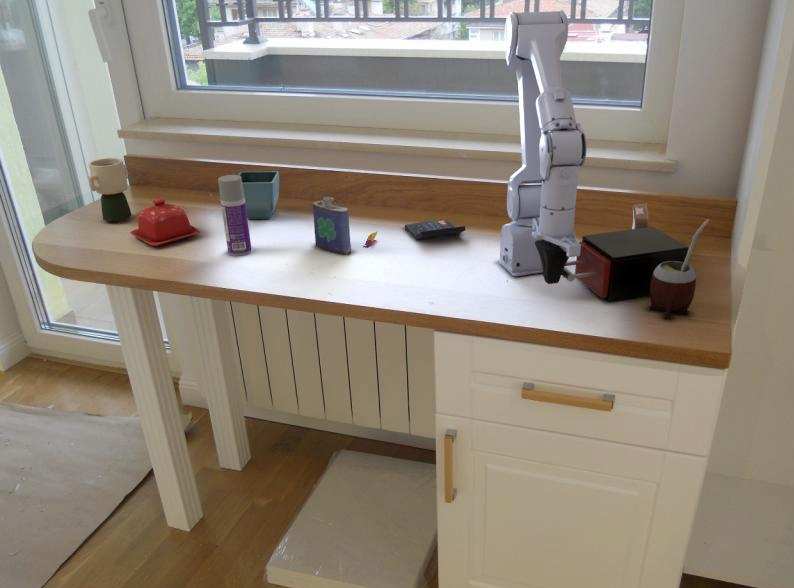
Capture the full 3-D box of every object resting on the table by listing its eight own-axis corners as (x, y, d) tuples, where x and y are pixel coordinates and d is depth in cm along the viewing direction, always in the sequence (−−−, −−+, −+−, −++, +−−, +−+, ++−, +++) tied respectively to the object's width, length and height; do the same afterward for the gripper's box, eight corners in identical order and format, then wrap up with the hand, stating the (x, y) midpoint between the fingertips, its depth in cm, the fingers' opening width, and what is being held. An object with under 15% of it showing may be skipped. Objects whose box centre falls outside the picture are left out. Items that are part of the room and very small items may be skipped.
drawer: (570, 302, 136) (574, 266, 132) (545, 280, 144) (548, 245, 141) (669, 287, 140) (675, 251, 137) (639, 267, 149) (644, 233, 145)
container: (256, 249, 163) (246, 176, 155) (242, 257, 159) (232, 182, 152) (237, 246, 165) (227, 173, 157) (223, 254, 161) (212, 180, 153)
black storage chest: (608, 302, 137) (613, 257, 133) (578, 278, 146) (582, 235, 142) (681, 291, 141) (688, 247, 136) (647, 268, 150) (653, 226, 146)
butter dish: (152, 251, 163) (144, 210, 159) (128, 237, 171) (120, 198, 166) (203, 237, 170) (197, 198, 165) (178, 224, 177) (171, 186, 173)
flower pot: (277, 222, 177) (272, 182, 173) (237, 222, 177) (232, 182, 173) (283, 209, 185) (279, 170, 180) (245, 210, 185) (240, 171, 180)
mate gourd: (644, 317, 132) (656, 230, 124) (650, 298, 138) (661, 214, 131) (691, 323, 130) (706, 235, 122) (695, 304, 136) (710, 218, 128)
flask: (354, 251, 160) (350, 199, 155) (343, 256, 159) (339, 203, 153) (321, 242, 166) (317, 191, 160) (311, 246, 164) (306, 195, 158)
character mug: (123, 210, 187) (111, 154, 180) (147, 214, 184) (135, 157, 177) (88, 225, 178) (74, 166, 172) (112, 229, 175) (98, 170, 169)
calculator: (445, 223, 174) (445, 209, 173) (465, 240, 165) (465, 226, 163) (404, 228, 172) (404, 215, 170) (422, 246, 162) (422, 232, 161)
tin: (647, 266, 151) (653, 222, 147) (630, 265, 151) (635, 222, 147) (644, 238, 164) (649, 198, 159) (628, 237, 164) (633, 197, 160)
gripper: (517, 194, 137) (513, 269, 144) (554, 221, 125) (548, 301, 131) (555, 191, 138) (550, 265, 145) (595, 216, 126) (587, 296, 133)
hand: (551, 282), depth 138 cm, fingers closed, pressing on drawer
